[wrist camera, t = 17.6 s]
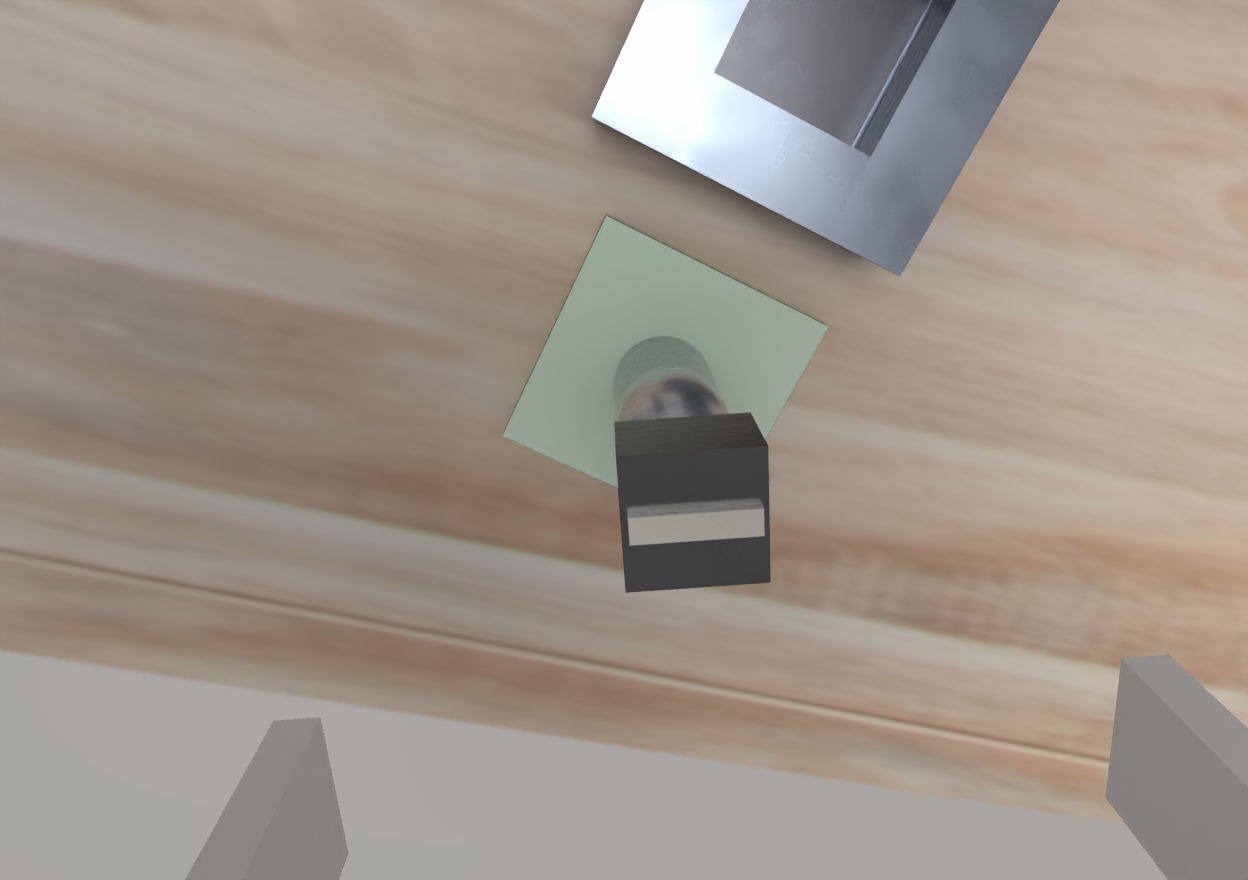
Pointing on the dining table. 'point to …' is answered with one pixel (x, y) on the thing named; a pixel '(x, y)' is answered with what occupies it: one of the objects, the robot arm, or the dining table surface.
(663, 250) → the pad
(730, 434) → the grey piece
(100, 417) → the dining table surface
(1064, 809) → the dining table surface
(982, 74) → the block
